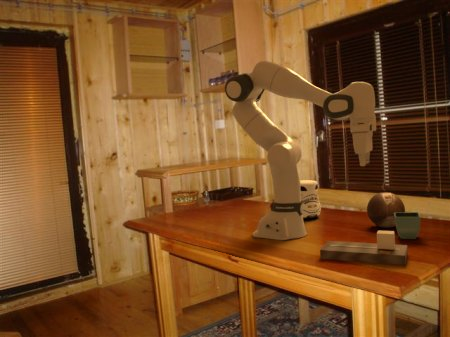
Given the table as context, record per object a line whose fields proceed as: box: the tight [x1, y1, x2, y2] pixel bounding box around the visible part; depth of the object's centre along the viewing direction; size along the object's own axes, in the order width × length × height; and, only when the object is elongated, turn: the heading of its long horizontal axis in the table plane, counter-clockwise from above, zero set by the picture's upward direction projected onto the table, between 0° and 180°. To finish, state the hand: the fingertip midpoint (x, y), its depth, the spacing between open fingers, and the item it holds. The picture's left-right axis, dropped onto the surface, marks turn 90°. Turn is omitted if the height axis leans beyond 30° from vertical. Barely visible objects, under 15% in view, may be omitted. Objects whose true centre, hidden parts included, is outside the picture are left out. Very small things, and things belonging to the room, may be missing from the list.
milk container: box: [299, 179, 322, 220], centre depth 203 cm, size 17×17×18 cm
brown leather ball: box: [366, 191, 406, 229], centre depth 173 cm, size 15×15×15 cm
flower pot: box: [394, 211, 421, 240], centre depth 155 cm, size 9×9×9 cm
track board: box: [319, 240, 409, 266], centre depth 136 cm, size 26×12×3 cm, turn 63°
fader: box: [376, 230, 396, 250], centre depth 132 cm, size 5×4×5 cm
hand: (364, 164), depth 149 cm, fingers open, 8 cm apart
